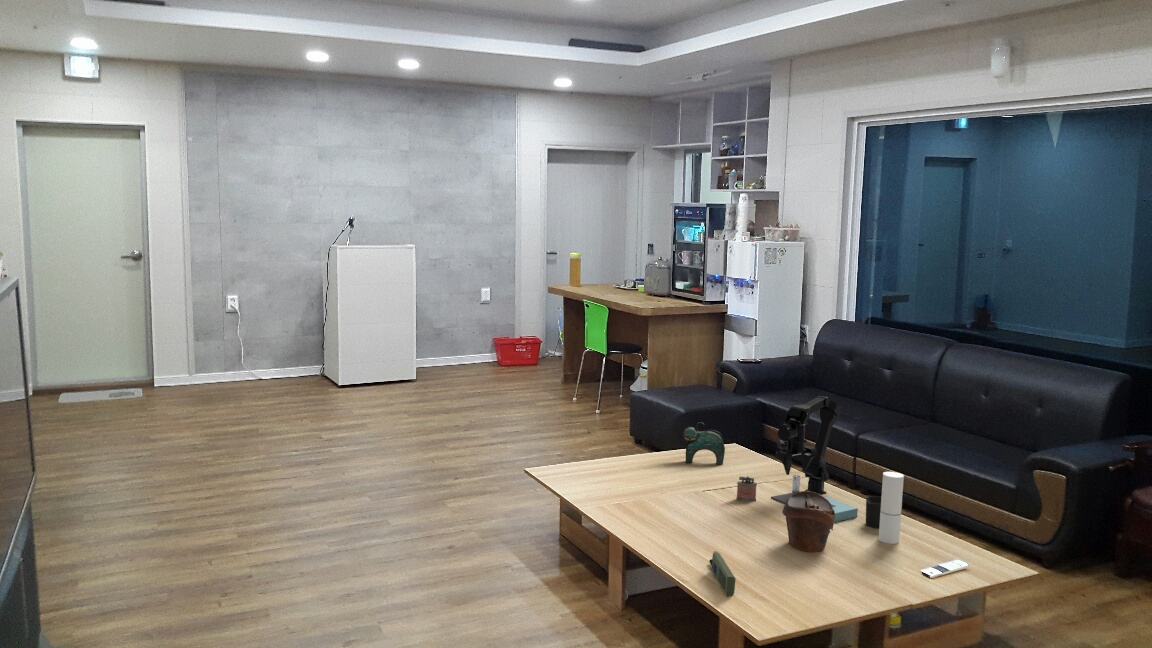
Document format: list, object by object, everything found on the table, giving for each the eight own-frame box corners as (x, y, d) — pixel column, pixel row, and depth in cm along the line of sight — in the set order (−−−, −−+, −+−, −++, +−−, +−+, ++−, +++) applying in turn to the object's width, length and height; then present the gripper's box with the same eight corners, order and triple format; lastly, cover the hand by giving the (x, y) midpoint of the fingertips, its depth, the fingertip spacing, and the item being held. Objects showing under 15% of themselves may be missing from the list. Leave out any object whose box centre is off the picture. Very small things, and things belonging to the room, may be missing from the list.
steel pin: (795, 497, 366) (796, 474, 365) (800, 499, 363) (801, 476, 362) (790, 498, 364) (791, 475, 363) (795, 500, 362) (796, 477, 360)
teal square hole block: (826, 504, 359) (827, 496, 359) (857, 516, 346) (857, 508, 345) (798, 510, 351) (798, 502, 351) (828, 523, 338) (828, 514, 337)
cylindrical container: (898, 538, 324) (903, 473, 321) (899, 544, 317) (904, 478, 314) (878, 535, 326) (883, 470, 323) (878, 542, 319) (883, 476, 316)
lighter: (755, 499, 365) (756, 476, 363) (756, 501, 361) (757, 478, 360) (736, 498, 365) (737, 475, 364) (736, 500, 362) (737, 477, 361)
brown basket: (807, 559, 301) (811, 509, 299) (769, 540, 319) (772, 492, 317) (846, 552, 310) (849, 503, 308) (807, 533, 327) (810, 487, 325)
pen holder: (891, 523, 339) (893, 498, 338) (889, 531, 331) (890, 505, 330) (866, 519, 343) (867, 494, 342) (863, 526, 335) (864, 501, 334)
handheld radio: (724, 596, 271) (705, 564, 296) (734, 597, 272) (715, 564, 296) (726, 576, 271) (707, 545, 295) (736, 576, 271) (716, 545, 296)
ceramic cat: (681, 463, 414) (683, 422, 412) (682, 459, 421) (684, 419, 418) (724, 466, 411) (726, 424, 409) (724, 462, 418) (726, 421, 415)
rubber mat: (795, 493, 373) (795, 491, 373) (819, 503, 361) (819, 501, 361) (770, 498, 366) (771, 496, 366) (794, 508, 354) (795, 506, 354)
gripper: (799, 429, 372) (798, 464, 374) (766, 435, 362) (765, 471, 365) (819, 435, 362) (817, 471, 365) (786, 441, 353) (784, 478, 355)
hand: (795, 473), depth 362 cm, fingers open, 9 cm apart
